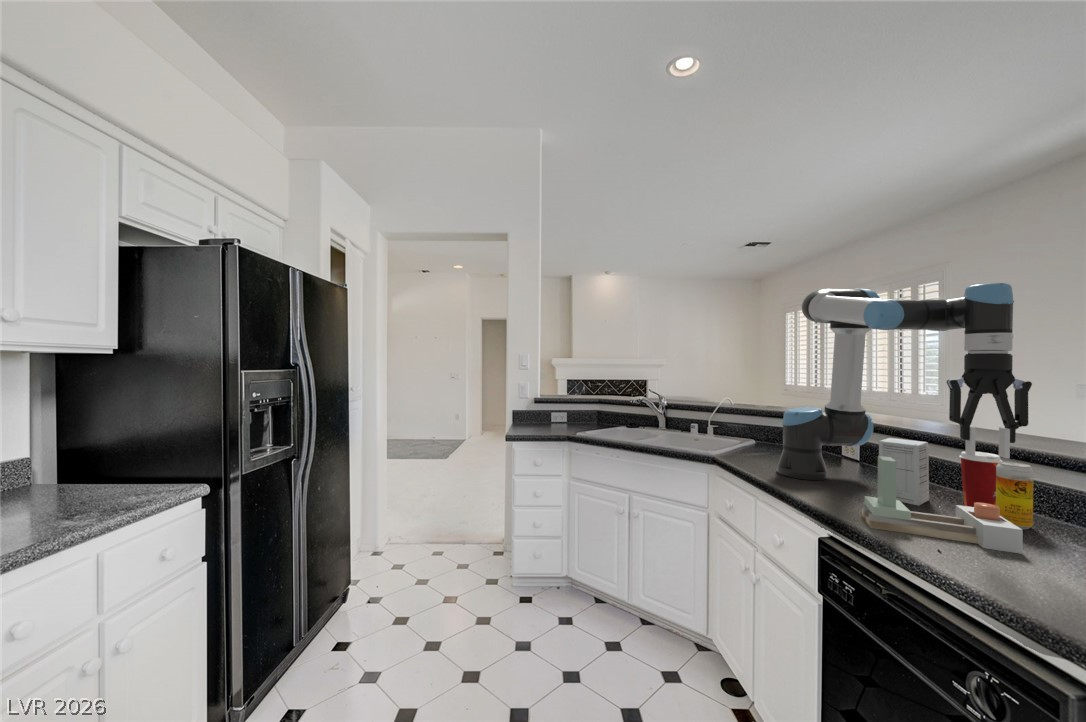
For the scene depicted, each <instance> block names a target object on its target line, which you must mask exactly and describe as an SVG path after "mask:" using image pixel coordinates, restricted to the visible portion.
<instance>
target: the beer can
mask: <svg viewBox="0 0 1086 722" xmlns="http://www.w3.org/2000/svg"><path fill="white" fill-rule="evenodd" d="M996 506H998V507H1000V516H1001V517H1003V518H1005V519H1006V520H1008V521H1009V522H1011V523H1012V524H1014V525H1016V526H1017V527H1019V528H1020V529H1022V530H1030V528H1032V527H1033V526H1034V470H1033V468H1032V466H1031V465H1030V464H1026V463H1020V462H1015V461H1003V462H999V463H998V465H997V466H996Z"/></svg>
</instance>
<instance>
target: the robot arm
mask: <svg viewBox="0 0 1086 722" xmlns="http://www.w3.org/2000/svg"><path fill="white" fill-rule="evenodd" d="M1013 295H1014V294H1013V287H1012V285H1011V284H1009V283H1008V282H1007V283H1006V282H992V283H991V282H990V283H980V284H973V285H970V286H968V287H965V289H964V294H963V296H962V297H958V298H957V297H956V298H949V299H947V298H946V299H890V298H881V297H880V296H879V295H878V294H877V292H876V291H874V290H872V289H868V288H823V289H817V290H816V291H815V290H814V291H813V292H811V293H809V294H808V295H807V296H806V297H804V299H803V301H802V304H801V312H802V314H803V316H804V317H805V318H806V319H807V320H808V321H811V322H813V323H816V324H817V323H818V324H829V329H830V331H832V332H833V333H834V340H833V342H834V343H833V352H832V353H833V354H832V355H833V356H832V358H833V360H832V370H831V385H830V400H829V402H827V403H826V404H825V405H824V411H823V410H822V409H821V408H820V407H814V406H813V407H812V406H811V407H809V406H808V407H806V406H805V407H804V406H803V407H794V408H790V409H789V408H788V409H787V410H785V411H784V412H783V419H782V452H781V454H780V457H779V460H778V463H777V467H776V472H777V473H778V474H780V475H782V476H786V477H788V478H793V479H799V480H807V481H809V480H810V481H823V480H826V479H828V478H829V477H828V475H829V474H828V469H827V466H826V463H825V461H824V457H823V455H822V454H823V453H822V449H823V448H822V446H840V447H841V446H844V447H845V446H846V447H854V446H855V447H857V446H863V445H864V444H866V443H867V442H869V440H871V438H872V435H873V433H874V423H873V421H872V420H873V419H872V417H871V415H870V414H868V413H866V408H865V407H864V406H863V405H862V403H861V401H862V391H863V390H862V387H863V373H864V361H865V360H864V359H865V347H866V345H865V344H866V336H867V333H868V332H870V331H871V330H880V331H891V330H892V331H894V330H896V331H897V330H903V331H905V330H913V331H917V330H919V331H920V330H921V331H922V330H923V331H924V330H925V331H926V330H927V331H931V332H932V331H933V332H946V331H947V332H948V331H950V330H959V329H960V330H961V329H964V344H963V345H964V346H963V347H964V348H963V350H964V351H965V352H967V353H965V355H964V363H963V364H964V366H963V368H964V372H963V374H962V375H961V377H958V378H955V379H947V380H946V384H947V386H948V388H949V408H948V409H949V410H948V411H949V413H948V414H949V416H948V418H949V421H950V422H952V423H956V424H958V425H959V428H960V430H959V435H960V436H959V437H960V439H961V440H962V441H963V440H964V441H965V449H964V450H965V453H966V454H968V455H971V456H975V452H976V426H973V425H972V424H973V423H972V422H973V420H974V417H975V414H976V411H977V409H978V405H979V402H980V400H981V398H982V397H983V396H984V395H986V394H987V395H988V394H989V395H992V398H994V400H995V403H996V407H997V409H998V412H999V416H1000V418H1001V420H1002V424H1003V426H1004V427H1003V426H1001V427H1000V426H999V427H998V455H999V456H1000V458H1004V459H1010V458H1011V457H1010V456H1011V455H1010V454H1011V451H1010V449H1011V447H1010V446H1011V444H1015V443H1016V435H1017V434H1016V430H1018V429H1019V428H1021V427H1027V426H1029V392H1030V391H1031V388H1032V386H1033V383H1032V382H1031V381H1028V380H1020V379H1018V378H1016V377H1015V375H1014V373H1013V354H1012V353H1009V352H1012V351H1013V336H1014V334H1013V327H1014V326H1013V325H1014V324H1013V321H1014V320H1013V319H1014V318H1013V317H1014V316H1013V315H1014V304H1015V301H1014V296H1013ZM963 384H965V385H966V386H967V387H968V388H969V390H968V393H967V396H968V397H967V399H966V401H965V405H964V407H963V411H962V408H961V406H962V387H963V386H964V385H963ZM1011 385H1013V386H1012V388H1013V389H1014V395H1013V396H1014V413H1013V410H1012V408H1011V404H1010V402H1009V401H1010V400H1009V395H1008V392H1007V389H1008V388H1009V387H1010V386H1011ZM961 411H962V412H961Z"/></svg>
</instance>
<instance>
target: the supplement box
mask: <svg viewBox="0 0 1086 722" xmlns="http://www.w3.org/2000/svg"><path fill="white" fill-rule="evenodd" d="M929 451H930V450H929V442H927V441H922V440H921V441H920V440H912V439H911V440H910V439H905V438H904V439H903V438H893V437H888V438H884V439H882V440H881V439H880V440H878V456H883V457H891V458H892V459H894V460H895V461H896V500H899V501H900V502H901V503H904V504H910V505H914V506H919V507H920V506H922V505H923V504H925V503H926V502H928V501H930V472H929V471H930V468H929V467H930V466H929V465H930V464H929V462H930V460H929V459H930V457H929V454H930V453H929Z"/></svg>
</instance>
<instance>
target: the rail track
mask: <svg viewBox="0 0 1086 722" xmlns="http://www.w3.org/2000/svg"><path fill="white" fill-rule="evenodd" d="M910 511H911V510H910ZM861 516H862V518H863V519H864V520H865V523H866V524H867V525H868V526H869V528H870V529H875V530H876V529H877V530H883V531H890V532H896V533H902V534H903V533H904V534H910V535H917V536H924V537H932V538H938V539H945V540H952V541H958V542H963V543H965V542H966V543H972V544H978V536H976V528H975V527H973V526H965V525H964V519H963V518H960V517H956V516H951V515H943V514H936V513H935V514H934V513H926V512H919V511H911V520H905V519H897V518H890V517H883V516H875V515H873V514H872V513H871V512H870V510H869V509H868V508H867V506H866V505H865V504H863V505H862V510H861ZM978 545H979V544H978Z"/></svg>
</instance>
